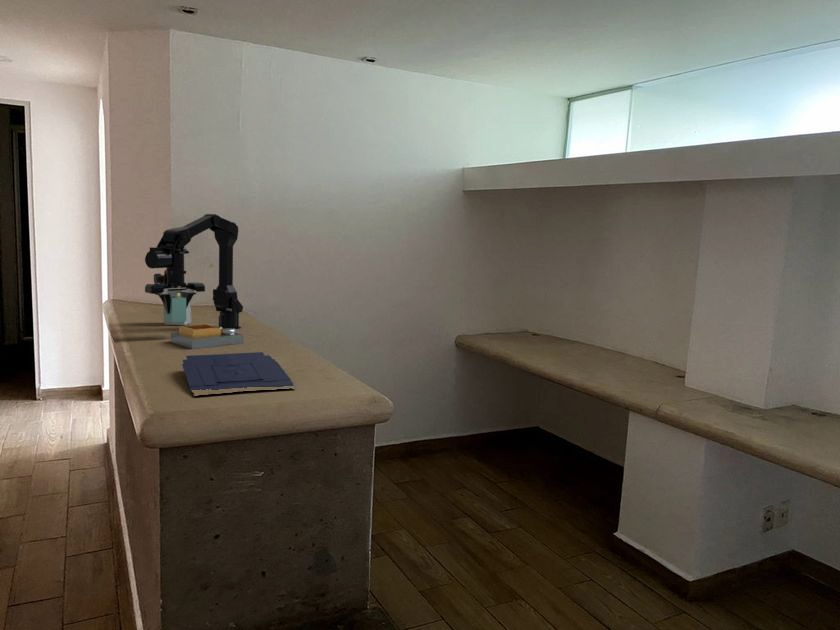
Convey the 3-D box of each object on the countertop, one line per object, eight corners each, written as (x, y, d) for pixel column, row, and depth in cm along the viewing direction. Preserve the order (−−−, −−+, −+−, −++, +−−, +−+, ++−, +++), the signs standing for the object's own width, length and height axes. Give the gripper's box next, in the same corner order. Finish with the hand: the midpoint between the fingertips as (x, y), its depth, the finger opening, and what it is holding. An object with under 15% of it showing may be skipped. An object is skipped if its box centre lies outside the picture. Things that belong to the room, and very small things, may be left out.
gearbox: (220, 336, 227) (220, 321, 226) (243, 343, 217) (243, 327, 216) (170, 341, 214) (170, 325, 214) (192, 349, 204) (191, 331, 203)
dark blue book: (268, 360, 186) (269, 348, 185) (296, 399, 160) (297, 385, 159) (178, 365, 175) (178, 352, 174) (192, 408, 149) (192, 393, 148)
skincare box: (191, 323, 253) (191, 283, 251) (183, 326, 246) (182, 284, 244) (170, 322, 254) (170, 282, 252) (162, 325, 247) (161, 283, 245)
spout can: (179, 319, 225) (179, 291, 224) (186, 321, 221) (186, 293, 220) (165, 320, 221) (165, 292, 220) (172, 322, 218) (171, 294, 217)
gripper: (190, 265, 231) (190, 308, 233) (137, 266, 218) (138, 312, 220) (205, 267, 224) (205, 312, 226) (151, 268, 210) (152, 316, 212)
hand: (175, 313), depth 221 cm, fingers closed on spout can, 5 cm apart
